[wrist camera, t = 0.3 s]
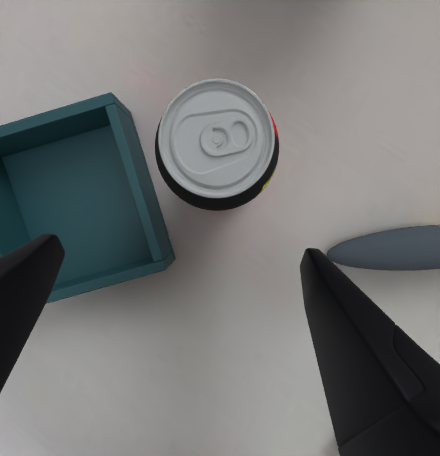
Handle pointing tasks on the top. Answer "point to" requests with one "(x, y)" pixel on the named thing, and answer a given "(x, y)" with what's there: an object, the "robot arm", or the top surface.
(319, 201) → the top surface
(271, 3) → the top surface
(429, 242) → the paintbrush
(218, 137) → the beverage can
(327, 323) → the robot arm
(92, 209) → the tote
